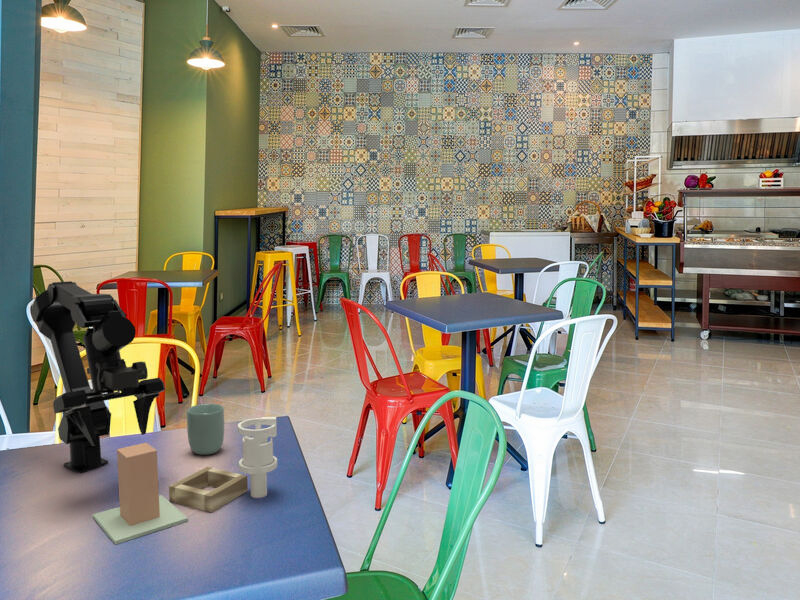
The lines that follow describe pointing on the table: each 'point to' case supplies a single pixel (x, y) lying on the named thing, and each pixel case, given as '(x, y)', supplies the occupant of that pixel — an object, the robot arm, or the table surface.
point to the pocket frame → (195, 497)
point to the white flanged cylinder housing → (258, 453)
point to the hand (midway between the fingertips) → (119, 439)
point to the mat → (124, 532)
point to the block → (138, 483)
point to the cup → (205, 428)
